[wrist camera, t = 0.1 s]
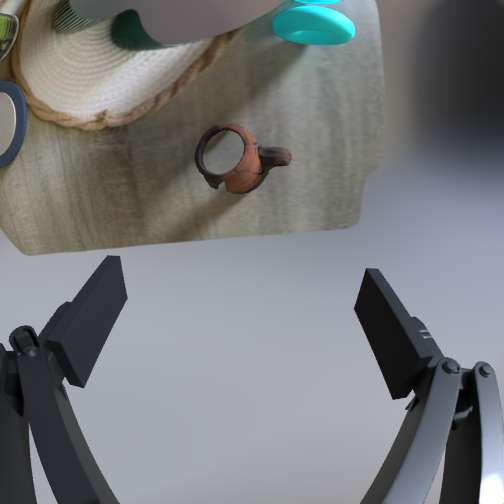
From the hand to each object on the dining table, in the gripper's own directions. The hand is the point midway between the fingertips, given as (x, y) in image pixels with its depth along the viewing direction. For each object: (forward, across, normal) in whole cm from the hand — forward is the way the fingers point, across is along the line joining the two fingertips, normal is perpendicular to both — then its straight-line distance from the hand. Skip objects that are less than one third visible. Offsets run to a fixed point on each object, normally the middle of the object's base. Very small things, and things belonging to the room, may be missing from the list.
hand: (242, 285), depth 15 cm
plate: (+28, -46, +11) cm, 55 cm away
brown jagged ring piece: (+28, 0, +2) cm, 28 cm away
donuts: (+28, +7, +24) cm, 38 cm away
